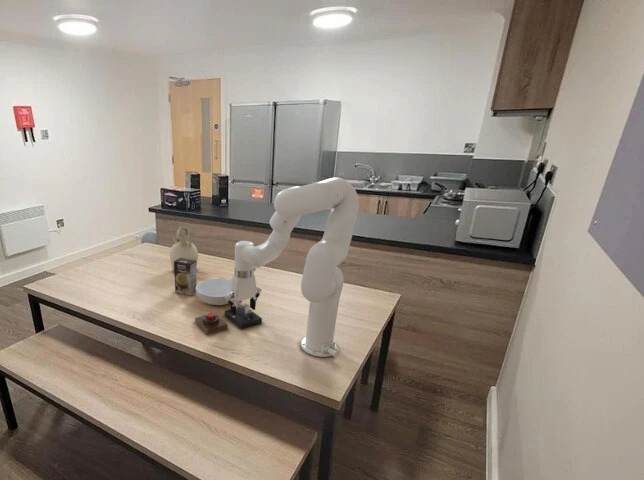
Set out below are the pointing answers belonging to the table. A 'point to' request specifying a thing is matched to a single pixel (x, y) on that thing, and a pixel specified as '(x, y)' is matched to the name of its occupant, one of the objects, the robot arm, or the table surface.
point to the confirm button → (210, 316)
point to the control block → (211, 324)
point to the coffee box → (185, 276)
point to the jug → (183, 248)
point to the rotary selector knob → (243, 309)
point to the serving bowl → (214, 291)
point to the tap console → (243, 319)
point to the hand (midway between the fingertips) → (243, 311)
